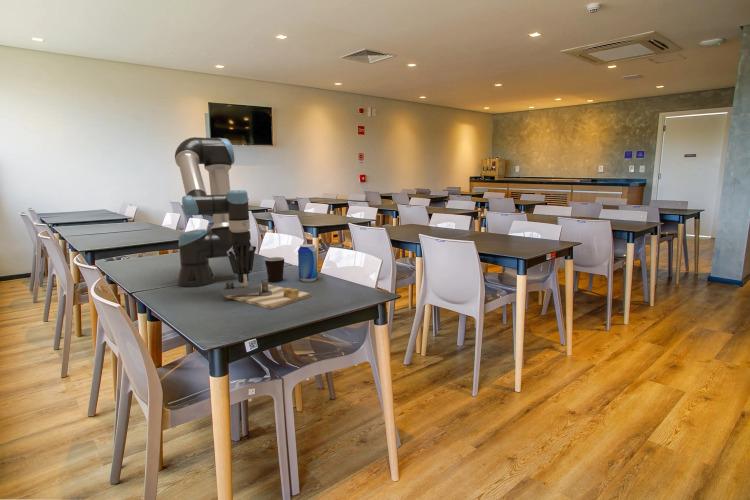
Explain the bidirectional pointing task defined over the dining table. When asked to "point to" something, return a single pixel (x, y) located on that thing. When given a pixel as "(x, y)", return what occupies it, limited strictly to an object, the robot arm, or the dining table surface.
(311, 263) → the beer can
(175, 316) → the dining table surface
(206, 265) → the robot arm
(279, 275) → the coffee mug
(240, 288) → the swing bar
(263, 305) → the door board
